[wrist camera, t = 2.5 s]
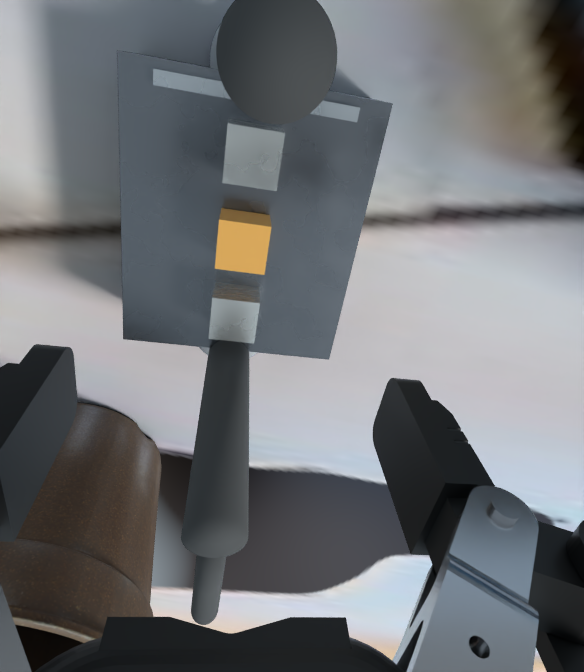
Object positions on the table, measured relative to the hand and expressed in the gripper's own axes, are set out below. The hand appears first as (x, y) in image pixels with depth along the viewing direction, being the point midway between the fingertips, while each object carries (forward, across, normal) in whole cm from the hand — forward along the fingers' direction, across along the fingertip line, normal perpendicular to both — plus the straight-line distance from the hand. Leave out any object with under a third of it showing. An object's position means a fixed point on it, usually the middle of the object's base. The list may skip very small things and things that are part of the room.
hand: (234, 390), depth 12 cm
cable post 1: (+17, 0, +10) cm, 20 cm away
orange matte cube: (+13, 0, 0) cm, 13 cm away
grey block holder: (+17, 0, 0) cm, 17 cm away
